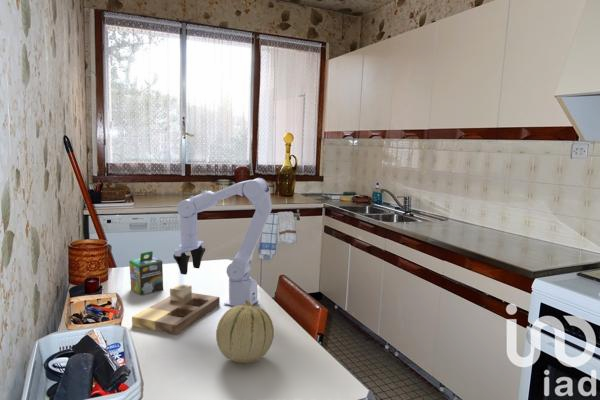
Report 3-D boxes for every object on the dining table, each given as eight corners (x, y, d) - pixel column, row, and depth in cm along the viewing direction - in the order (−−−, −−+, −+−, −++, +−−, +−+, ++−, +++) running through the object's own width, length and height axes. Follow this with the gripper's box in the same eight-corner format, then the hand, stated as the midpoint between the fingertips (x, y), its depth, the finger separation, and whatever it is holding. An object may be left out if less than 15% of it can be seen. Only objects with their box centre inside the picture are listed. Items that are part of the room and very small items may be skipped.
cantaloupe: (219, 378, 101) (218, 319, 99) (214, 349, 115) (213, 296, 113) (279, 370, 105) (280, 313, 103) (268, 343, 119) (268, 292, 117)
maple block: (191, 297, 145) (191, 285, 145) (182, 302, 140) (182, 290, 140) (179, 294, 147) (179, 283, 146) (170, 299, 142) (170, 288, 142)
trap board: (219, 305, 146) (219, 297, 145) (176, 335, 124) (176, 325, 123) (180, 298, 151) (180, 290, 151) (132, 326, 129) (131, 316, 129)
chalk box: (153, 284, 166) (151, 247, 164) (164, 290, 160) (163, 251, 158) (129, 289, 160) (128, 251, 158) (140, 296, 153) (138, 256, 151)
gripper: (191, 228, 156) (192, 264, 158) (166, 236, 143) (167, 275, 145) (208, 229, 154) (209, 266, 156) (184, 238, 140) (185, 278, 142)
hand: (190, 270), depth 150 cm, fingers open, 7 cm apart
